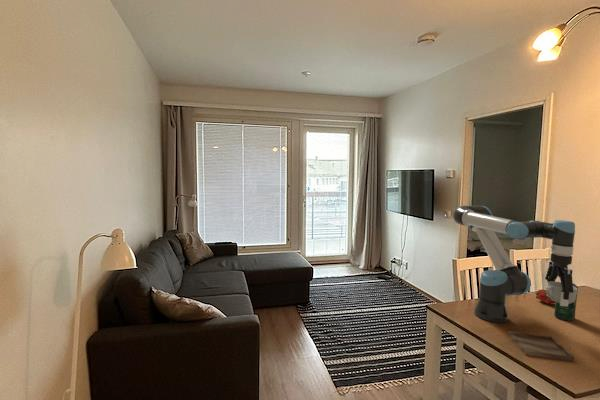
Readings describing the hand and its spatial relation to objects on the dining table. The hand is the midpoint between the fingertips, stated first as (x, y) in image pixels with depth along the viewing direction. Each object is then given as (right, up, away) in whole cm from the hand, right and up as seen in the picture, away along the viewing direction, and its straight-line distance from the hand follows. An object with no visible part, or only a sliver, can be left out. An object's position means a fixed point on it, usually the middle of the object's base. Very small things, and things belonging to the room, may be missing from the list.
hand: (556, 300), depth 147 cm
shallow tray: (-17, -16, -11) cm, 26 cm away
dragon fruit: (+25, -14, +38) cm, 48 cm away
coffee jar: (+20, -15, +19) cm, 31 cm away
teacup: (0, 0, 0) cm, 1 cm away
